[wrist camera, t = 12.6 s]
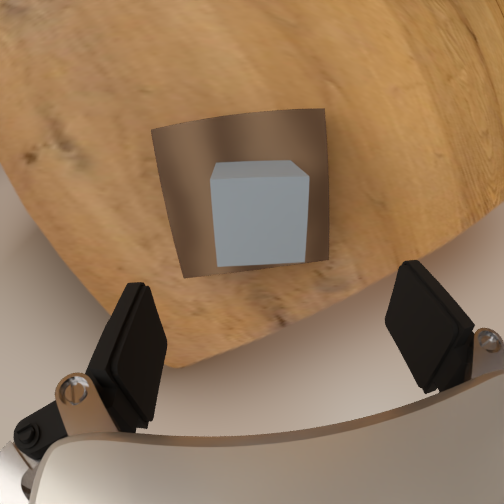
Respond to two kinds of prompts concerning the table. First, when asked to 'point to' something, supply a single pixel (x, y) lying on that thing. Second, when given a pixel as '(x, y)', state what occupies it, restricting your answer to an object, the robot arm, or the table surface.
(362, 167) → the table surface
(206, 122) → the walnut block
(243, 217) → the slate cube
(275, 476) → the robot arm
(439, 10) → the table surface
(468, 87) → the table surface
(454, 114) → the table surface
